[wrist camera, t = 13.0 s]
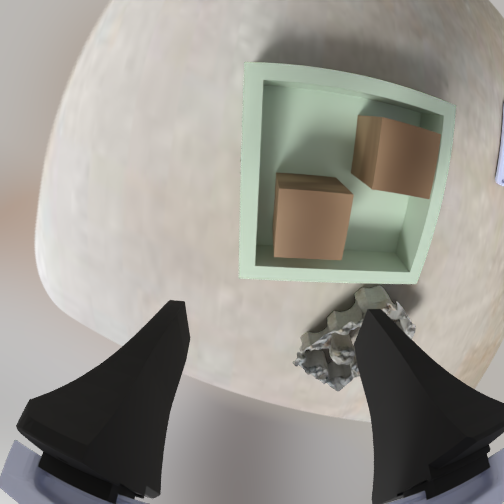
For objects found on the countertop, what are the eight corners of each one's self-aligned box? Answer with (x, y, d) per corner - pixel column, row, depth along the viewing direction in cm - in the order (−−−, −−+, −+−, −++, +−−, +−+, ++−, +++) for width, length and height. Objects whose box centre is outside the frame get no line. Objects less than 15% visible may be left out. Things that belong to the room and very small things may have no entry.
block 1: (335, 177, 17) (353, 194, 14) (328, 231, 19) (341, 260, 15) (276, 172, 17) (279, 188, 14) (272, 228, 19) (273, 257, 16)
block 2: (409, 127, 15) (441, 134, 11) (401, 181, 17) (429, 199, 13) (357, 115, 15) (382, 116, 11) (350, 173, 17) (371, 189, 13)
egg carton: (375, 271, 21) (392, 300, 18) (410, 313, 24) (425, 341, 20) (285, 339, 25) (287, 372, 22) (330, 368, 28) (336, 398, 24)
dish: (428, 103, 14) (456, 105, 11) (398, 260, 20) (416, 284, 17) (248, 72, 14) (244, 62, 11) (242, 252, 21) (238, 278, 18)
